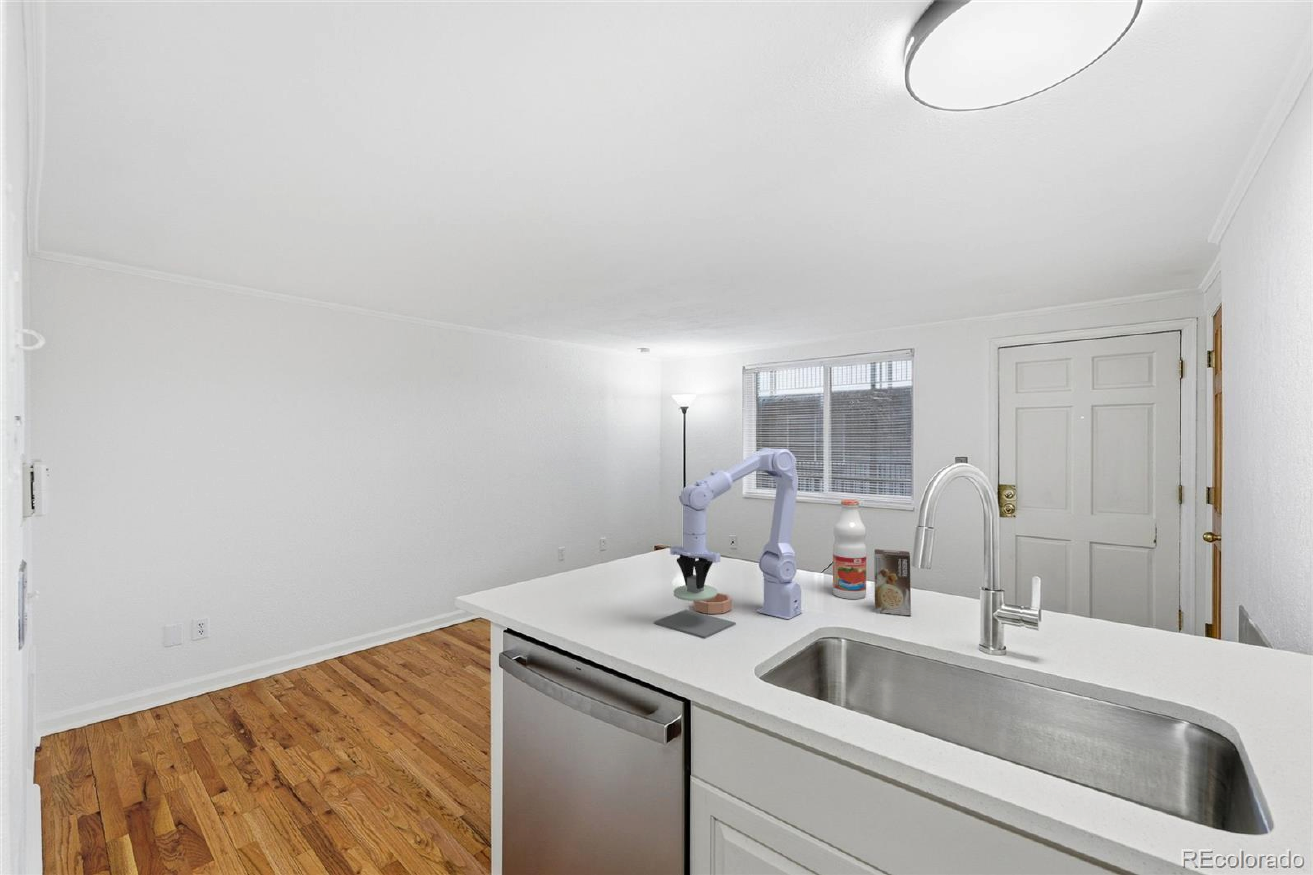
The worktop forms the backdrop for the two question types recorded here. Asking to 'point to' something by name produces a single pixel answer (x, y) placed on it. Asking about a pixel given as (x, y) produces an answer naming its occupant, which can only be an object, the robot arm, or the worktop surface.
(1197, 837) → the worktop surface
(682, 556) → the robot arm
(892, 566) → the coffee box
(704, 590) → the lid
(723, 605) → the bowl
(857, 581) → the fruit juice
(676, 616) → the mat
